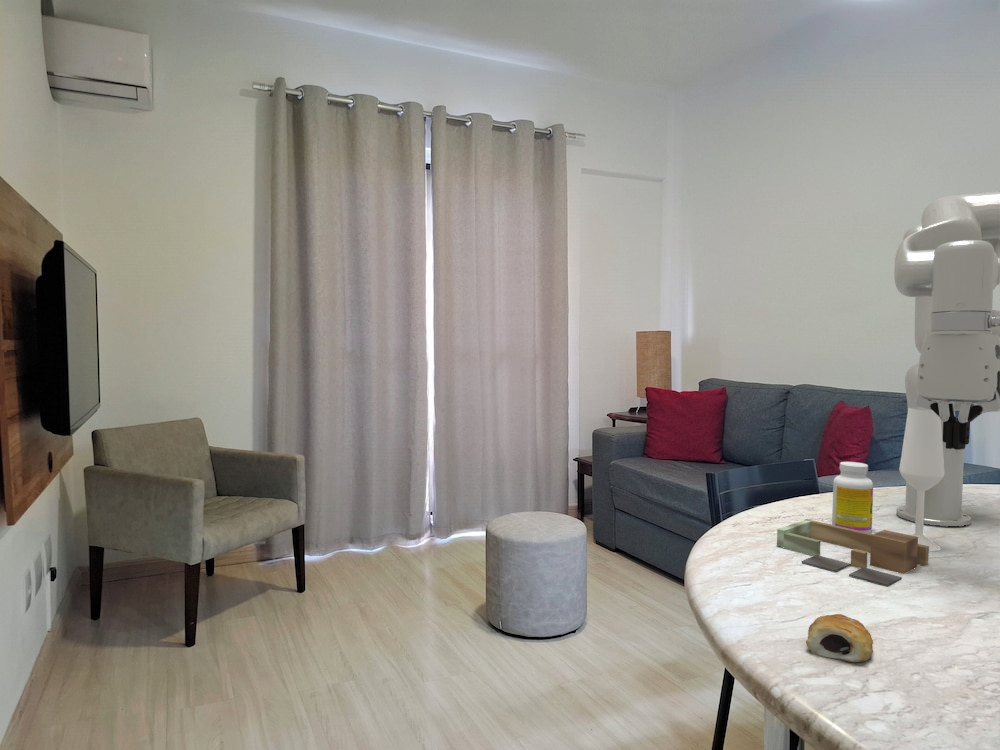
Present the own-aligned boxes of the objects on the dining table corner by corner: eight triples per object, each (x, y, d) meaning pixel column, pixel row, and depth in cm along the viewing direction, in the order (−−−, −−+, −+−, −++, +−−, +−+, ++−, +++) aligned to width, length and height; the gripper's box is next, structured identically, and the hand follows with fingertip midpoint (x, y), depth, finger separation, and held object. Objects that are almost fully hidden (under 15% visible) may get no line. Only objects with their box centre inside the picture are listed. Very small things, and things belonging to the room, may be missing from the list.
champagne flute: (917, 537, 122) (922, 406, 121) (950, 549, 116) (957, 410, 114) (887, 540, 120) (892, 407, 119) (920, 552, 114) (925, 412, 112)
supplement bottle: (876, 538, 122) (879, 468, 121) (837, 535, 123) (839, 466, 123) (864, 527, 129) (867, 461, 128) (827, 525, 130) (829, 460, 129)
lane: (806, 535, 123) (807, 519, 123) (928, 564, 108) (929, 546, 108) (761, 551, 114) (761, 534, 114) (887, 586, 98) (888, 566, 98)
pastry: (816, 625, 86) (817, 596, 85) (876, 639, 82) (878, 608, 82) (804, 654, 78) (805, 622, 77) (870, 671, 74) (871, 637, 74)
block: (883, 559, 111) (884, 529, 110) (916, 567, 107) (918, 536, 106) (869, 565, 108) (870, 535, 107) (903, 574, 104) (905, 542, 103)
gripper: (1030, 325, 96) (1024, 453, 97) (915, 327, 108) (910, 441, 108) (1013, 322, 91) (1008, 456, 92) (895, 325, 103) (890, 444, 104)
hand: (955, 448), depth 100 cm, fingers closed
